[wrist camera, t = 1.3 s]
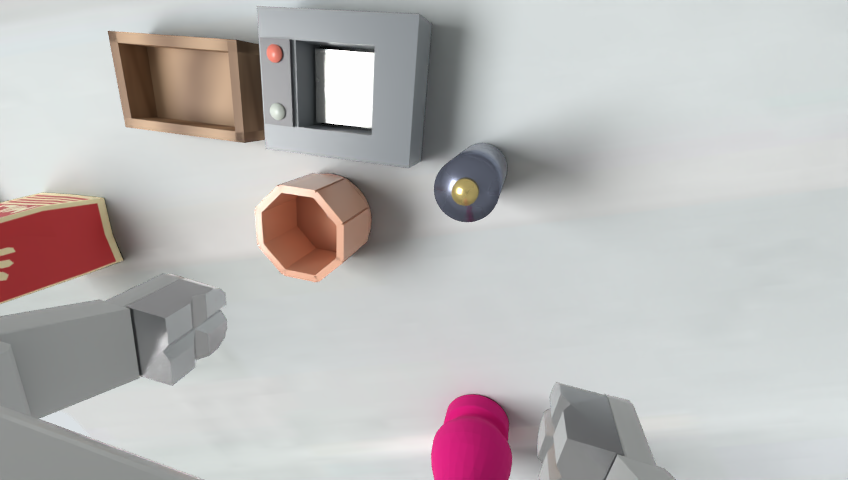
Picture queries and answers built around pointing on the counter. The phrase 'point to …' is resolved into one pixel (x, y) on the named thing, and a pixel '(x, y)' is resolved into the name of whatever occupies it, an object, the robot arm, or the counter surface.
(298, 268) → the cup
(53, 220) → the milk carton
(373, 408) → the counter surface
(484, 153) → the cell
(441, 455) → the pepper mill
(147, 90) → the trough
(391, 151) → the grey rectangular frame box
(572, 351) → the counter surface
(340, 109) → the plate
